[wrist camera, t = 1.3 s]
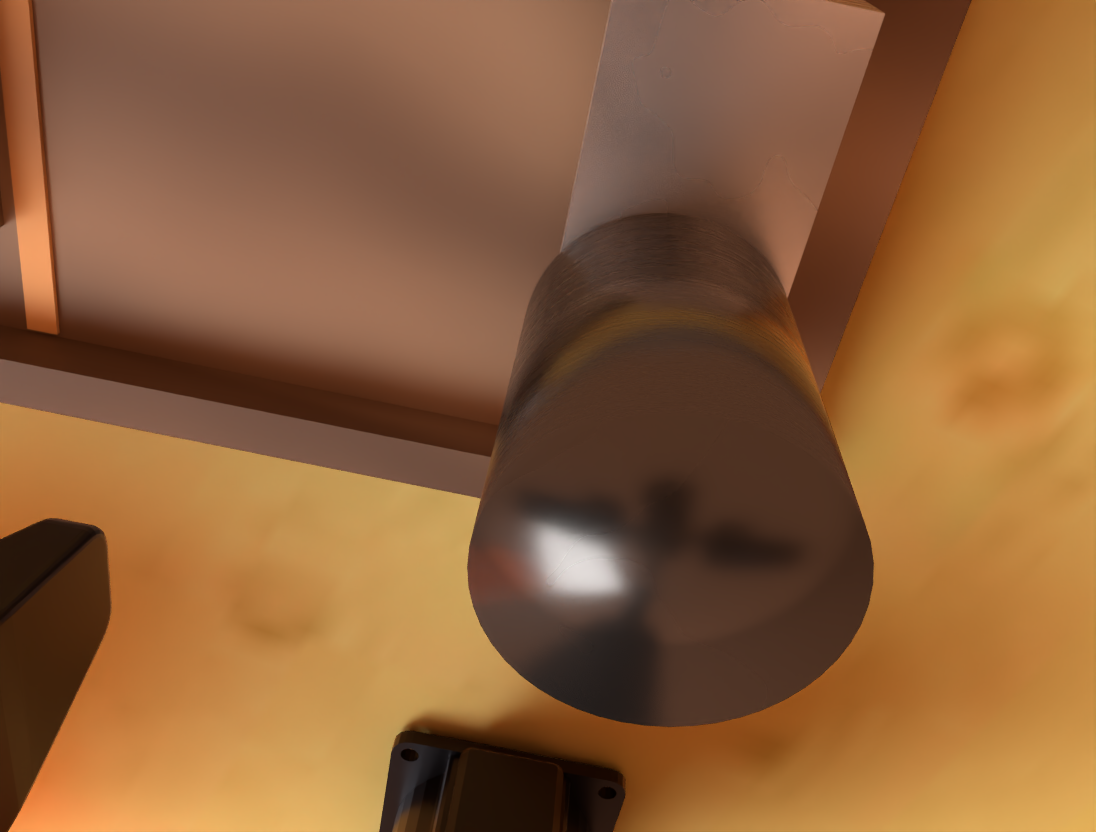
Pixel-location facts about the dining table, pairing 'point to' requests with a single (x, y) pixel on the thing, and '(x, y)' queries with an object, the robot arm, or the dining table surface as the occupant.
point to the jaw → (682, 382)
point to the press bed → (341, 212)
